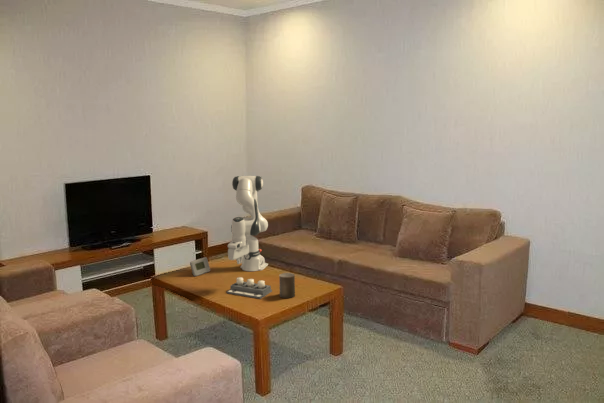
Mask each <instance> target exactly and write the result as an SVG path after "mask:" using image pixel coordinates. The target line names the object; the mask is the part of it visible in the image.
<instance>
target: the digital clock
mask: <svg viewBox="0 0 604 403" xmlns="http://www.w3.org/2000/svg"><path fill="white" fill-rule="evenodd" d="M189 265H190V268H191V274H192V275H193V277H198V276H202V275H204V274H206V273H209V272H210V271H211V268H210V263H209V260H208V258H207V257H205V256H204V257H201V258H198V259H197V258H196V259H194V260H192V261H190V262H189Z"/></svg>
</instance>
